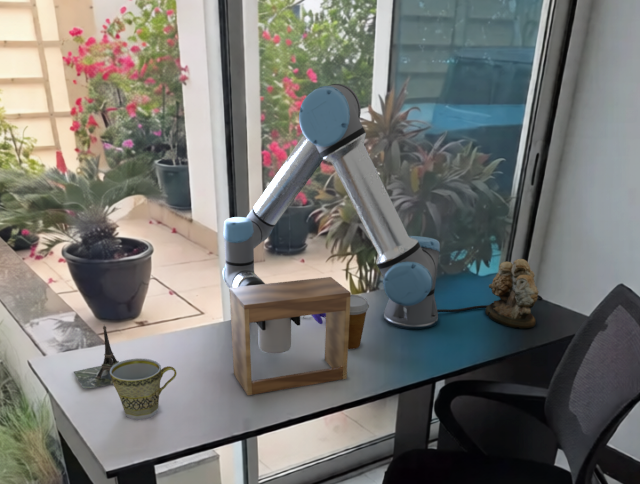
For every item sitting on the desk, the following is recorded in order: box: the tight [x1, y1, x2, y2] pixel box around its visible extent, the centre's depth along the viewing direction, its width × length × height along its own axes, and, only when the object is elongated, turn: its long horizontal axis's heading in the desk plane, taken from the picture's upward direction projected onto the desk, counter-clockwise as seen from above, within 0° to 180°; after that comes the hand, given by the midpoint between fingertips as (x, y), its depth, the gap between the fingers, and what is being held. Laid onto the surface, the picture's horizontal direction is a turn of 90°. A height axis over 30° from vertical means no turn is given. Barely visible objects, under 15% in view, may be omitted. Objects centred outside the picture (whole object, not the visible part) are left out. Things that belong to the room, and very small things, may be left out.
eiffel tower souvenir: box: [73, 325, 120, 389], centre depth 147 cm, size 15×10×13 cm
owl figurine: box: [484, 258, 539, 330], centre depth 185 cm, size 18×12×17 cm, turn 30°
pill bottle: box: [257, 317, 292, 355], centre depth 156 cm, size 8×8×15 cm
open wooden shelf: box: [228, 276, 352, 396], centre depth 147 cm, size 11×24×21 cm, turn 114°
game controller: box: [302, 313, 326, 325], centre depth 181 cm, size 10×8×10 cm
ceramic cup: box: [110, 358, 177, 421], centre depth 135 cm, size 13×10×10 cm
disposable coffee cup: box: [348, 294, 370, 350], centre depth 166 cm, size 10×10×12 cm
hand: (281, 322), depth 152 cm, fingers closed on pill bottle, 8 cm apart
